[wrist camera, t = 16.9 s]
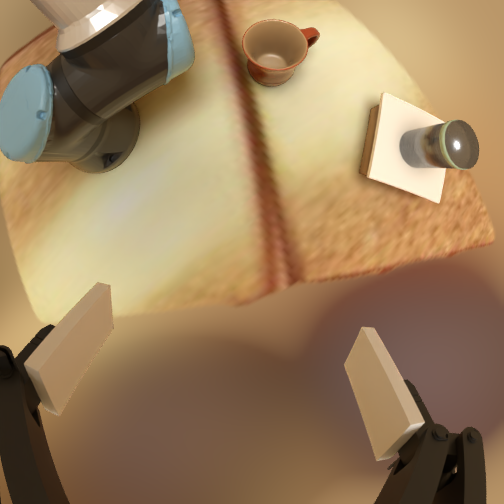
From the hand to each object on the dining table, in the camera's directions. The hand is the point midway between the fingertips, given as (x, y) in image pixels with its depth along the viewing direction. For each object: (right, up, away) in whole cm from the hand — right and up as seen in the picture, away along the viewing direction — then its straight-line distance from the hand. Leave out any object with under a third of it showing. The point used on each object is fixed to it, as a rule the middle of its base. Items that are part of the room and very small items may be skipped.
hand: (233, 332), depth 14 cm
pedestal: (+26, +22, +29) cm, 44 cm away
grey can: (+26, +20, +22) cm, 39 cm away
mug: (+5, +35, +26) cm, 43 cm away
